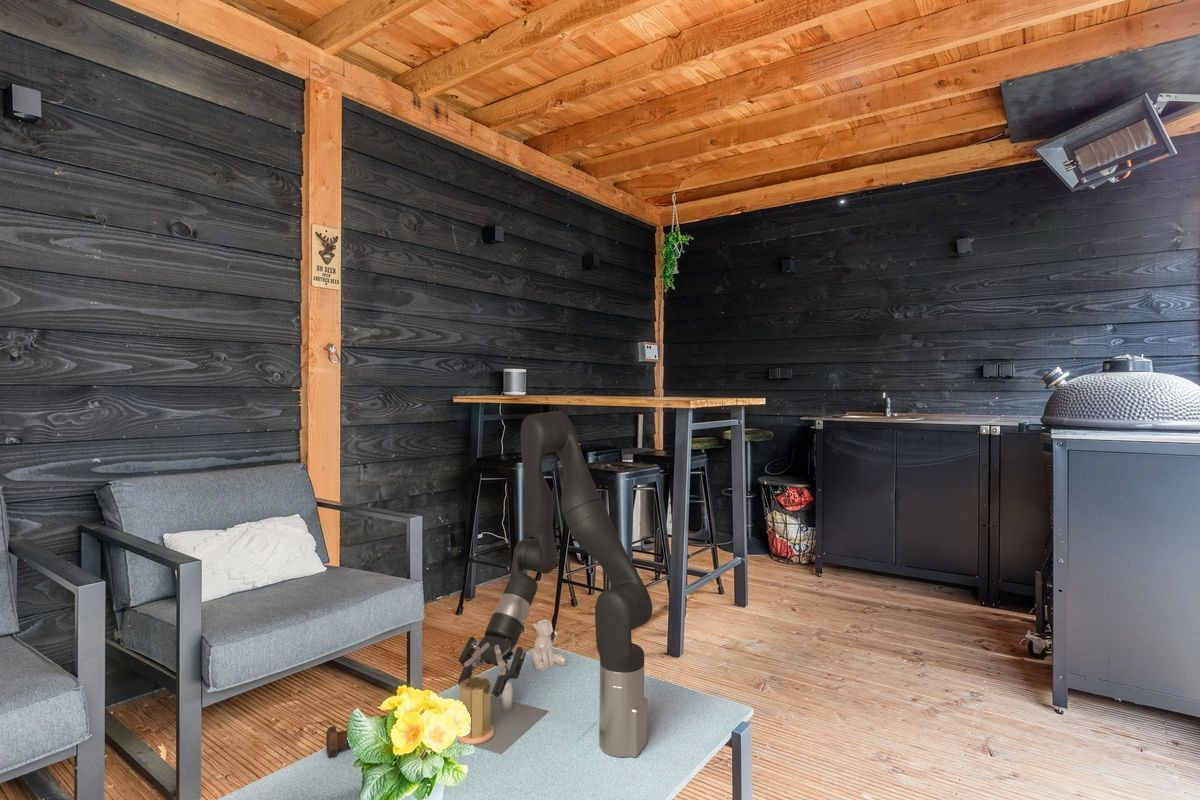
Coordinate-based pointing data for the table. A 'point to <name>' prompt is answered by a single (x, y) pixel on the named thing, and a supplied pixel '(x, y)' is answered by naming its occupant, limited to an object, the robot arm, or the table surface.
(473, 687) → the sleeve
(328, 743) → the bolt
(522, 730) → the rod board
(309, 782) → the table surface
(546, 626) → the white creature statuette
